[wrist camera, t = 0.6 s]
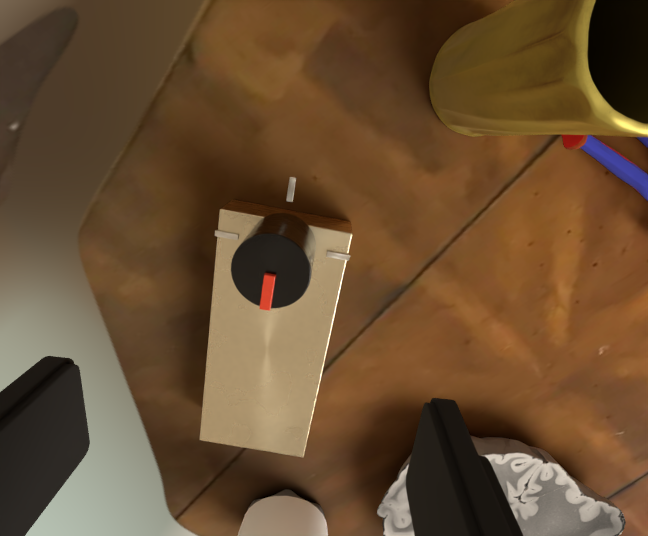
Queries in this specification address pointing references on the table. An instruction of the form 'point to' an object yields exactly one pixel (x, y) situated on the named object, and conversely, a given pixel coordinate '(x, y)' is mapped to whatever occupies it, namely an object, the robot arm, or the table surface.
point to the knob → (275, 261)
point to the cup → (283, 517)
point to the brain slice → (523, 495)
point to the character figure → (611, 160)
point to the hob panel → (269, 340)
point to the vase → (547, 70)
